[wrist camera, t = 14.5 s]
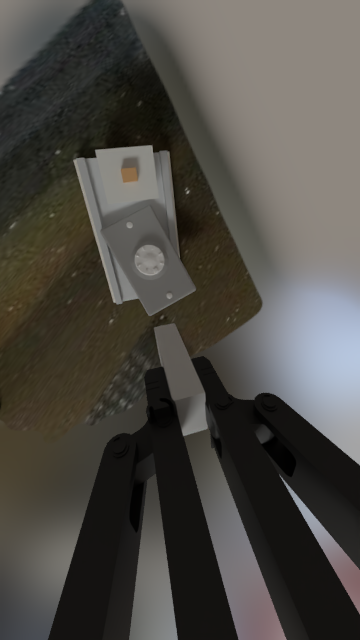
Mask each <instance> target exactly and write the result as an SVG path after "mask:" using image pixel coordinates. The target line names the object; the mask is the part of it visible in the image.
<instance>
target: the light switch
mask: <svg viewBox="0 0 360 640" xmlns="http://www.w3.org/2000/svg"><path fill="white" fill-rule="evenodd" d="M100 233H101V234H102V236H103V238H104V240H105V241H106V243H107V245H108V246H109V248H110V250H111V252H112V253H113V255H114V257H115V258H116V260H117V262H118V264H119V265H120V267H121V269H122V270H123V272H124V274H125V276H126V277H127V279H128V281H129V283H130V284H131V286H132V288H133V289H134V291H135V293H136V295H137V296H138V298H139V300H140V301H141V303H142V305H143V307H144V308H145V310H146V312H147V313H148V315H149V316H151V315H153V314H155V313H157V312H158V311H160V310H162V309H164V308H165V307H167V306H169V305H171V304H173V303H174V302H176V301H178V300H180V299H181V298H183V297H185V296H187V295H188V294H190V293H192V292H194V291H195V290H196V287H195V285H194V284H193V282H192V280H191V278H190V276H189V274H188V273H187V271H186V269H185V267H184V265H183V263H182V262H181V260H180V258H179V256H178V254H177V252H176V251H175V249H174V247H173V245H172V243H171V241H170V240H169V238H168V236H167V234H166V232H165V230H164V229H163V227H162V225H161V223H160V221H159V219H158V218H157V216H156V214H155V212H154V210H153V208H152V207H151V206H150V205H148V206H146V207H144V208H142V209H140V210H138V211H136V212H134V213H132V214H130V215H129V216H127V217H125V218H123V219H121V220H119V221H117V222H115V223H113V224H111V225H109V226H107V227H105V228H103V229H101V230H100Z"/></svg>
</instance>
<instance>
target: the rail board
mask: <svg viewBox="0 0 360 640" xmlns="http://www.w3.org/2000/svg"><path fill="white" fill-rule="evenodd" d="M95 152H96V156H97V158H88V159H85V158H76V160H74V164H75V167H76V171H77V174H78V178H79V181H80V185H81V188H82V192H83V195H84V199H85V203H86V206H87V210H88V213H89V217H90V220H91V224H92V227H93V231H94V234H95V238H96V241H97V245H98V248H99V252H100V255H101V259H102V262H103V266H104V270H105V273H106V277H107V280H108V284H109V287H110V291H111V294H112V298H113V301H114V303H115V302H116V304H122V301H127V300H132V299H138V296H137V295H136V293H135V291H134V289H133V288H132V286H131V284H130V283H129V281H128V279H127V277H126V276H125V274H124V272H123V270H122V269H121V267H120V265H119V264H118V262H117V260H116V258H115V257H114V255H113V253H112V252H111V250H110V248H109V246H108V245H107V243H106V241H105V240H104V238H103V236H102V234H101V233H100V230H101V229H103V228H105V227H107V226H109V225H111V224H113V223H115V222H117V221H119V220H121V219H123V218H125V217H127V216H129V215H130V214H132V213H134V212H136V211H138V210H140V209H142V208H144V207H146V206H148V205H150V206H151V207H152V208H153V210H154V212H155V214H156V216H157V218H158V219H159V221H160V223H161V225H162V227H163V229H164V230H165V232H166V234H167V236H168V238H169V240H170V241H171V243H172V245H173V247H174V249H175V251H176V252H177V254H178V256H179V258H180V253H179V243H178V233H177V223H176V214H175V204H174V194H173V184H172V174H171V164H170V154H169V152H167V151H160V152H158V153H153V149H152V145H149V146H137V147H125V148H112V149H100V150H95Z"/></svg>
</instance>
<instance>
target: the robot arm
mask: <svg viewBox="0 0 360 640" xmlns="http://www.w3.org/2000/svg"><path fill="white" fill-rule="evenodd" d="M154 331H155V336H156V341H157V346H158V352H159V357H160V361H161V365H162V367H158V368H154V369H150V370H147V372H146V374H145V377H144V378H145V385H146V393H147V401H148V406H147V410H146V413H147V417H148V421H147V422H146V424H145V425H144V426H143V427H142V428H141V429H140V430H138V431H137V432H135V433H134V434H132V435H130V434H127V433H122V434H118V435H116V436H115V437H113V438H112V439H111V440H110V441H109V442H108V443H107V445H106V447H105V449H104V453H103V456H102V459H101V463H100V466H99V469H98V473H97V476H96V480H95V483H94V487H93V490H92V493H91V496H90V500H89V503H88V507H87V510H86V513H85V517H84V520H83V523H82V528H81V530H80V534H79V537H78V540H77V544H76V547H75V550H74V554H73V557H72V561H71V564H70V568H69V571H68V574H67V577H66V581H65V585H64V587H63V591H62V594H61V598H60V601H59V604H58V608H57V611H56V615H55V618H54V621H53V625H52V628H51V631H50V635H49V638H48V640H129V635H130V626H131V617H132V608H133V600H134V591H135V582H136V574H137V564H138V556H139V547H140V539H141V530H142V521H143V513H144V504H145V494H146V486H147V480H148V479H149V478H150V477H151V476H153V475H154V474H155V473H156V477H157V484H158V492H159V500H160V507H161V514H162V522H163V530H164V538H165V545H166V553H167V560H168V568H169V575H170V583H171V590H172V598H173V605H174V613H175V621H176V628H177V636H178V640H238V636H237V633H236V629H235V625H234V622H233V618H232V614H231V611H230V607H229V603H228V599H227V596H226V592H225V588H224V585H223V581H222V577H221V574H220V570H219V566H218V562H217V559H216V555H215V551H214V548H213V544H212V541H211V536H210V533H209V529H208V525H207V522H206V518H205V515H204V511H203V507H202V503H201V499H200V496H199V492H198V489H197V485H196V481H195V477H194V474H193V470H192V466H191V463H190V459H189V455H188V451H187V448H186V444H185V441H184V437H183V436H185V435H189V434H192V433H195V432H199V431H202V430H205V429H207V425H208V427H209V430H210V433H211V434H210V435H211V447H212V448H215V451H216V454H217V456H218V459H219V462H220V464H221V467H222V469H223V472H224V475H225V477H226V480H227V483H228V485H229V488H230V491H231V493H232V496H233V499H234V501H235V504H236V507H237V509H238V512H239V515H240V517H241V520H242V523H243V525H244V528H245V530H246V533H247V536H248V538H249V541H250V544H251V546H252V549H253V552H254V554H255V557H256V560H257V562H258V565H259V567H260V570H261V573H262V576H263V578H264V581H265V583H266V586H267V588H268V591H269V594H270V596H271V599H272V602H273V605H274V607H275V610H276V612H277V615H278V618H279V621H280V623H281V626H282V629H283V631H284V634H285V637H286V639H287V640H360V614H359V612H358V611H357V609H356V607H355V605H354V604H353V602H352V600H351V599H350V597H349V595H348V593H347V592H346V590H345V588H344V586H343V585H342V583H341V581H340V579H339V578H338V576H337V574H336V573H335V571H334V569H333V567H332V566H331V564H330V562H329V561H328V559H327V557H326V555H325V553H324V552H323V550H322V548H321V547H320V545H319V543H318V542H317V540H316V538H315V536H314V534H313V533H312V531H311V529H310V528H309V526H308V524H307V522H306V521H305V519H304V517H303V515H302V514H301V512H300V510H299V508H298V507H297V505H296V503H295V502H294V500H293V498H292V496H291V495H290V493H289V492H288V489H287V488H286V486H285V484H284V482H283V481H282V479H281V477H282V478H283V479H284V480H285V482H286V483H287V484H288V485H289V486H290V487H291V489H292V490H293V491H294V492H295V493H296V494H297V496H298V497H299V498H300V499H301V501H302V502H303V503H304V504H305V505H306V506H307V507H308V509H309V510H310V511H311V512H312V514H313V515H314V516H315V517H316V518H317V519H318V521H319V522H320V523H321V524H322V525H323V527H324V528H325V529H326V530H327V531H328V533H329V534H330V535H331V536H332V537H333V538H334V540H335V541H336V542H337V543H338V544H339V546H340V547H341V548H342V549H343V550H344V552H345V553H346V554H347V555H348V556H349V557H350V559H351V560H352V561H353V562H354V563H355V565H356V566H357V567H358V568H359V569H360V465H359V464H357V463H356V462H355V461H354V460H352V459H351V458H350V457H349V456H348V455H347V454H345V453H344V452H343V451H342V450H341V449H339V448H338V447H337V446H336V445H335V444H334V443H332V442H331V441H330V440H329V439H328V438H326V437H325V436H324V435H323V434H322V433H321V432H319V431H318V430H317V429H316V428H315V427H313V426H312V425H311V424H310V423H309V422H308V421H306V420H305V419H304V418H303V417H302V416H300V415H299V414H298V413H297V412H295V411H294V410H293V409H292V408H291V407H290V406H289V405H287V404H286V403H285V402H284V401H283V400H281V399H280V398H279V397H277V396H276V395H274V394H270V393H261V394H259V395H257V396H256V397H255V400H241V399H237V398H234V397H233V396H232V395H230V394H228V392H227V391H226V389H225V388H224V386H223V384H222V382H221V380H220V379H219V377H218V375H217V373H216V371H215V370H214V368H213V366H212V364H211V363H210V361H209V360H208V359H207V358H205V357H204V356H202V357H198V358H193V359H190V357H189V355H188V353H187V350H186V348H185V346H184V344H183V341H182V339H181V337H180V335H179V332H178V330H177V328H176V326H175V323H173V324H169V325H164V326H159V327H154ZM278 473H279V474H280V476H281V477H280V476H279V474H278Z"/></svg>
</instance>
